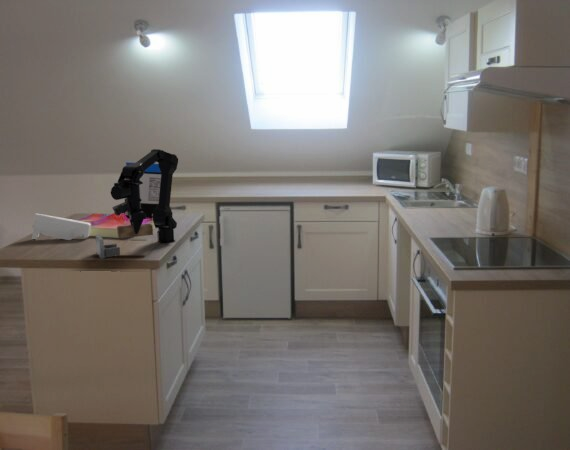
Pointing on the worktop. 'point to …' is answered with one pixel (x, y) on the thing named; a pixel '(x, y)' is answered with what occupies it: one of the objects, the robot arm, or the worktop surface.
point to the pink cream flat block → (109, 224)
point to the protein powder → (150, 189)
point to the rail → (129, 231)
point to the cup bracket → (106, 248)
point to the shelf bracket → (59, 227)
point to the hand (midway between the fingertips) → (135, 232)
